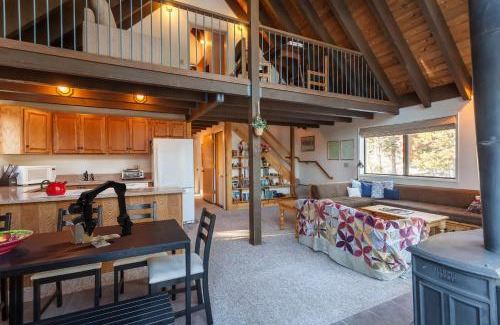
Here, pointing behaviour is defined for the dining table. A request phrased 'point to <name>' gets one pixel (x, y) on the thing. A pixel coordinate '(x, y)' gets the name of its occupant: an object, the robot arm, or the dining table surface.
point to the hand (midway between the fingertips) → (87, 235)
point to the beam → (101, 238)
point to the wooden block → (86, 236)
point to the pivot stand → (100, 243)
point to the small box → (75, 233)
